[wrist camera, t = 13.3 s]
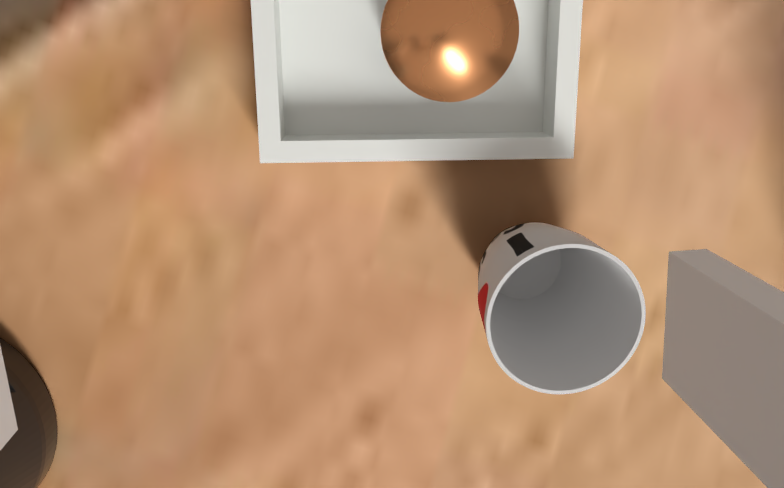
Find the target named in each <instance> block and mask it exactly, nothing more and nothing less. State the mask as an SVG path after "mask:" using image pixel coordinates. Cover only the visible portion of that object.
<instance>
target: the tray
mask: <svg viewBox="0 0 784 488" xmlns="http://www.w3.org/2000/svg"><path fill="white" fill-rule="evenodd" d="M514 2H515V5H516V9H517V12H518V19H519V38H518V44H517V49H516V52H515V55H514V57H513V60H512V62H511V64H510V66H509V67H508V69H507V70H506V72H505V73H504V75H503V76H502V77H501V78H500V79H499V80H498V82H496V83H495V84H494V85H493V86H492V87H491V88H489V89H488V90H486V91H485V92H484V93H482V94H480V95H478V96H476V97H473V98H470V99H468V100H463V101H459V102H439V101H434V100H430V99H427V98H424V97H422V96H420V95H418V94H416V93H414V92H413V91H411V90H410V89H408V88H407V87H406V86H405V85H404V84H403V83H402V82H401V81H400V80H399V79H398V78H397V77H396V76H395V75H394V73H393V72H392V70H391V69H390V67H389V65H388V63H387V61H386V59H385V56H384V53H383V50H382V45H381V36H380V27H381V19H382V14H383V11H384V7H385V5H386V3H387V0H251V15H252V32H253V49H254V67H255V84H256V102H257V119H258V136H259V154H260V163H299V162H366V161H433V160H500V159H567V158H574V141H575V124H576V107H577V90H578V73H579V56H580V39H581V22H582V5H583V0H514Z"/></svg>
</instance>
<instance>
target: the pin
mask: <svg viewBox="0 0 784 488" xmlns="http://www.w3.org/2000/svg"><path fill="white" fill-rule="evenodd" d="M380 36H381V45H382V50H383V53H384V56H385V59H386V61H387V63H388V65H389V67H390V69H391V70H392V72H393V73H394V75H395V76H396V77H397V78H398V79H399V80H400V81H401V82H402V83H403V84H404V85H405V86H406V87H407V88H408V89H410V90H411V91H413V92H414V93H416V94H418V95H420V96H422V97H424V98H427V99H430V100H434V101H439V102H459V101H463V100H468V99H470V98H473V97H476V96H478V95H480V94H482V93H484V92H485V91H486V90H488V89H489V88H491V87H492V86H493V85H494V84H495V83H496V82H498V80H499V79H500V78H501V77H502V76H503V75H504V73H505V72H506V70H507V69H508V67H509V66H510V64H511V62H512V60H513V57H514V55H515V52H516V49H517V44H518V38H519V19H518V12H517V9H516V5H515V2H514V0H387V3H386V5H385V7H384V11H383V14H382V19H381V27H380Z"/></svg>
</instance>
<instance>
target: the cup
mask: <svg viewBox="0 0 784 488" xmlns="http://www.w3.org/2000/svg"><path fill="white" fill-rule="evenodd" d="M478 305H479V310H480V314H481V318H482V321H483V325H484V329H485V332H486V336H487V340H488V343H489V347H490V349H491V352H492V354H493V356H494V358H495V360H496V361H497V363H498V364H499V366H500V367H501V368H502V369H503V371H504V372H505V373H506V374H507V375H508V376H510V377H511V378H512V379H513V380H515V381H516V382H518V383H519V384H521V385H523V386H525V387H527V388H529V389H532V390H535V391H538V392H543V393H548V394H570V393H576V392H581V391H584V390H587V389H590V388H593V387H595V386H597V385H599V384H601V383H603V382H605V381H606V380H608V379H609V378H611V377H612V376H613V375H615V374H616V373H617V372H618V371H619V370H620V369H621V368H622V367H623V366H624V365H625V364H626V363H627V362H628V360H629V359H630V358H631V356H632V355H633V353H634V352H635V350H636V348H637V346H638V344H639V342H640V339H641V337H642V333H643V330H644V325H645V315H646V313H645V301H644V296H643V293H642V290H641V287H640V285H639V283H638V281H637V279H636V277H635V276H634V274H633V273H632V272H631V270H630V269H629V268H628V267H627V266H626V265H625V264H624V263H623V262H622V261H621V260H619V259H618V258H617V257H615V256H614V255H612V254H611V253H609V252H608V251H606V250H604V249H603V248H601V247H600V246H598V245H597V244H595V243H594V242H592V241H590V240H589V239H587V238H586V237H584V236H582V235H580V234H578V233H576V232H573V231H570V230H567V229H564V228H560V227H557V226H554V225H551V224H546V223H539V222H533V223H525V224H520V225H516V226H513V227H510V228H508V229H506V230H504V231H502V232H501V233H500V234H498V235H497V236H496V237H495V238H494V239H493V240H492V242H491V243H490V245H489V246H488V248H487V249H486V251H485V253H484V255H483V257H482V260H481V263H480V266H479V272H478Z"/></svg>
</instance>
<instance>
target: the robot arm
mask: <svg viewBox="0 0 784 488" xmlns="http://www.w3.org/2000/svg"><path fill="white" fill-rule="evenodd" d="M662 379H663V380H664V381H665V382H666V383H667V384H668V385H669V386H670V387H671V388H672V389H673V390H674V391H675V392H676V393H677V394H678V395H679V396H680V397H681V398H682V400H683V401H684V402H685V403H686V404H687V405H688V406H689V407H690V408H691V409H692V410H693V411H694V412H695V413H696V414H697V415H698V416H699V417H700V418H701V419H702V420H703V421H704V422H705V423H706V424H707V425H708V426H709V427H710V429H711V430H712V431H713V432H714V433H715V434H716V435H717V436H718V437H719V438H720V439H721V440H722V441H723V442H724V443H725V444H726V445H727V446H728V447H729V448H730V449H731V450H732V451H733V452H734V453H735V454H736V455H737V456H738V458H739V459H740V460H741V461H742V462H743V463H744V464H745V465H746V466H747V467H748V468H749V469H750V470H751V471H752V472H753V473H754V474H755V475H756V476H757V477H758V478H759V479H760V480H761V481H762V482H763V483H764V484H765V485H766V487H767V488H784V292H782V291H780V290H779V289H777V288H775V287H773V286H772V285H770V284H768V283H766V282H764V281H763V280H761V279H759V278H757V277H755V276H754V275H752V274H750V273H748V272H747V271H745V270H743V269H741V268H739V267H738V266H736V265H734V264H732V263H730V262H729V261H727V260H725V259H723V258H721V257H720V256H718V255H716V254H714V253H713V252H711V251H709V250H707V249H701V250H686V251H672V252H669V260H668V278H667V297H666V316H665V335H664V354H663V373H662ZM56 444H57V421H56V415H55V410H54V407H53V403H52V401H51V398H50V395H49V393H48V391H47V389H46V387H45V385H44V383H43V381H42V380H41V378H40V377H39V375H38V374H37V372H36V371H35V370H34V368H33V367H32V366H31V365H30V363H29V362H28V361H27V360H26V359H25V358H24V357H23V356H22V355H21V354H20V353H19V352H18V351H17V350H15V349H14V348H13V347H12V346H11V345H9V344H8V343H7V342H5V341H4V340H2V339H1V338H0V488H38V486H39V485H40V483H41V482H42V481H43V479H44V478H45V476H46V474H47V472H48V471H49V468H50V466H51V464H52V461H53V458H54V454H55V450H56Z"/></svg>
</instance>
